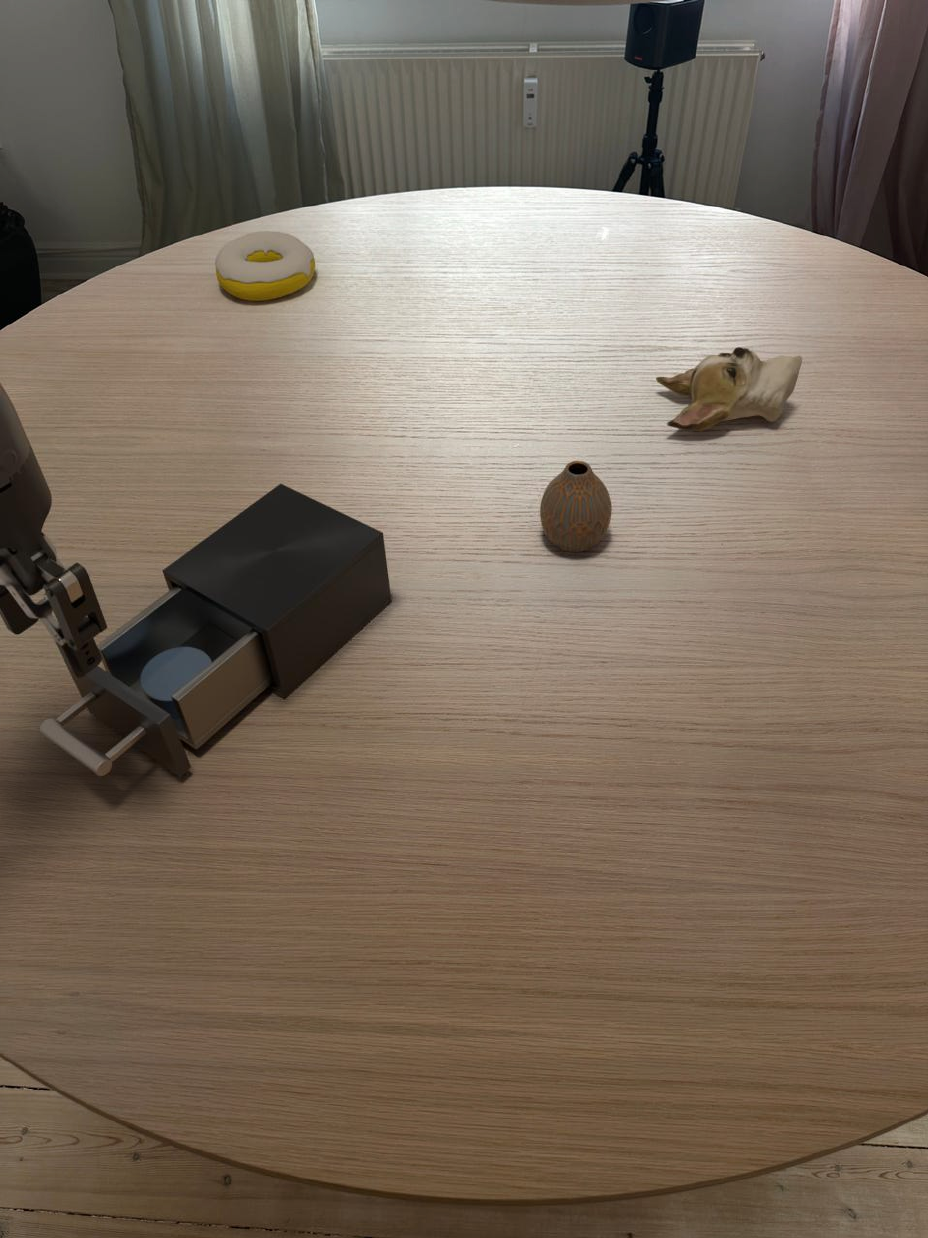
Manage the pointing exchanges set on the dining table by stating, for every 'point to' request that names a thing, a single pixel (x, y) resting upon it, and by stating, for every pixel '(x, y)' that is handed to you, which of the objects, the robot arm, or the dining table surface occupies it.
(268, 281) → the donut
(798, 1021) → the dining table surface
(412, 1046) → the dining table surface
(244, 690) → the drawer
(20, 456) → the robot arm
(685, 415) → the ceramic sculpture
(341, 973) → the dining table surface
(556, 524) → the vase
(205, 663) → the cylinder
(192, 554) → the cabinet
